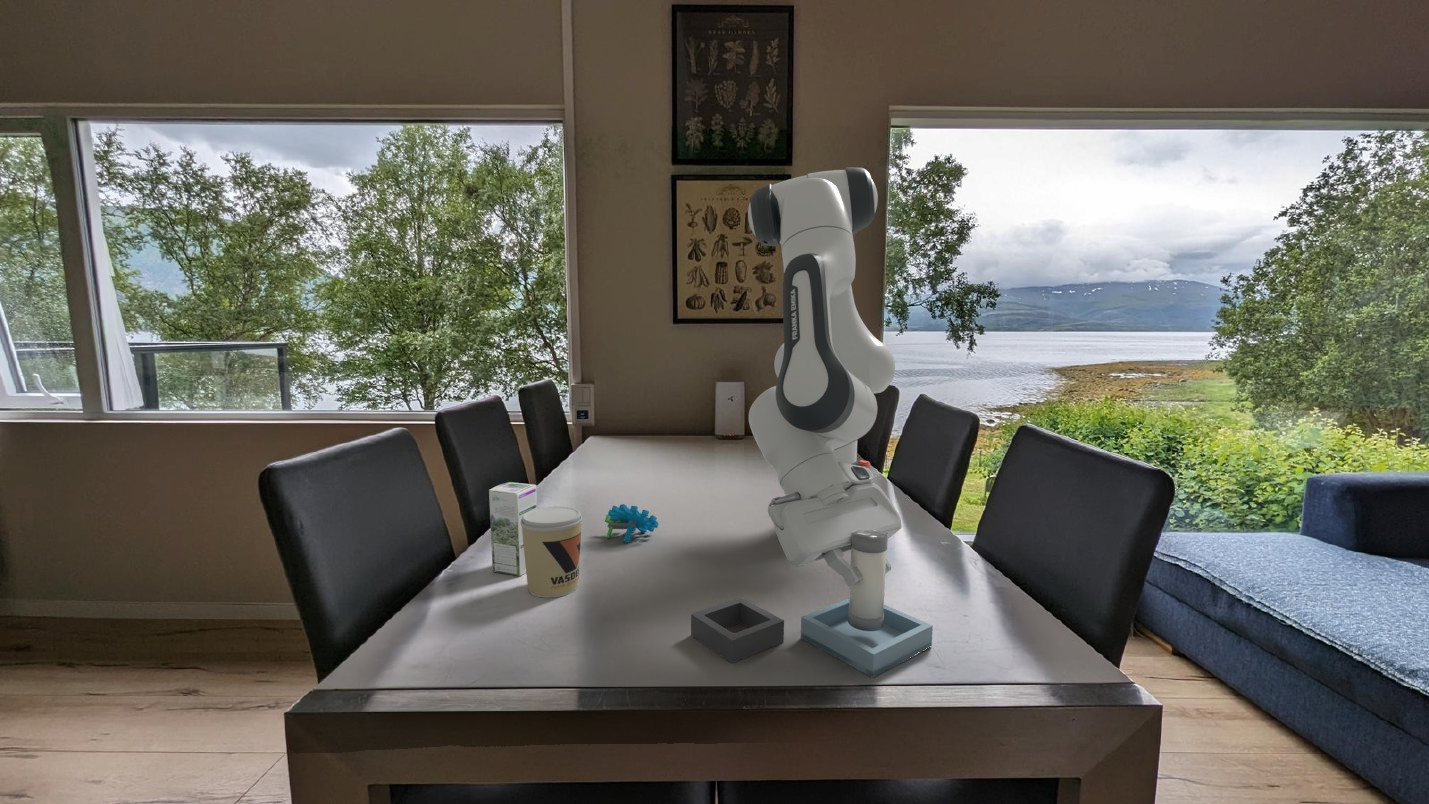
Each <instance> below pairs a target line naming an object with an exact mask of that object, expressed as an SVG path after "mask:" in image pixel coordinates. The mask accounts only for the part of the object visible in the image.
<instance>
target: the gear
mask: <svg viewBox="0 0 1429 804" xmlns="http://www.w3.org/2000/svg"><path fill="white" fill-rule="evenodd" d="M649 513H650V511H649V510H646V509H642V511H641V512H640V511H639V510H638V506H637V505H631V506H630V508H629V507H628V506H627V505H626V504H623V503H622V504H619V507H618V506H617V505H612V508H611V509H609V510H608V513H607V514H606V516H605V519H604V522H605V523H606V524H607V528H608V530H607V533H606V536H605V538H606V539H609V540H610V539H611V536H612V532H613V531H614V530H626V533H625V536H624V539H623V542H624V543H625V544H626V543H627V544H629V542H630V539H631V537H632V533H633V532H636V530H638V531H639V532H640V533H642V534H645V533H647V531H648V532H652V533H654V531H655V529H657V528H658V527H659V522H658V521H657V517H656V516H655V515H650V517H649Z"/></svg>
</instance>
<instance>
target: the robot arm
mask: <svg viewBox="0 0 1429 804" xmlns="http://www.w3.org/2000/svg"><path fill="white" fill-rule="evenodd" d="M878 197H879V194H878V190H877V187H876V184H875V182H874V181H873V179H872V176H871V174H870V172H869V171H868V170H867V169H865V168H863V167H852V166H851V167H845V169H834V170H824V171H817V172H811V173H807V175H801V176H798V177H797V176H796V177H794V178H789V179H786V180H783V181H780V182H777V183H773V184H771V183H767V184H765V185H762V186H760V187H758V188H756V189H755V190H754V192H753V193H752V195H751V196H750V197H749V199H750V200H749V205H748V209H747V220H748V224H749V228H750V230H751V231H752V233H753V235H754V236H755V238H756V240H757V241H758V242H759V243H761V244H762V245H763V246H769V247H779V246H781V247H780V248H781V255H782V265H783V266H782V267H783V279H782V310H783V311H782V316H783V318H782V319H783V320H782V321H783V343H782V344H781V345H780V346H779V348H778V349H777V352H776V354H775V357H774V361H773V362H774V372H775V375H776V377H777V380H776V385H774V386H772V387H771V386H770V387H769V388H768V389H766V390H764V391H763V392H761V393H760V394H759V395H758V396H757V397H756V398H755V400H754V401H753V402H752V404H751V406H750V408H749V411H748V423H749V427H750V430H751V434H752V435H753V438H754V441H755V442H756V444H757V446H758V448H759V450H760V452H761V454H762V456H763V458H764V459H765V461H766V463H767V464H768V465H769V466H771V468H772V469H773V470H774V472H775V474H776V477H777V481H778V484H779V486H780V488H781V490H782V491H783V493H784V496H776V497H773V498H772V499H771V500H770V502H769V503H768V507H767V513H768V516H769V517H770V519H771V521H772V523H773V526H774V530H775V534H776V535H777V538H778V541H779V543H780V547H781V548H782V551H783V553H784V556H785V557H786V559H787V560H788V562H790V564H792V565H794V566H795V567H801V566H804V565H808V564H810V563H814V562H817V561H820V560H823V559H824V561H825V562H826V564H827V566H828V567H829V568H831V570H833V571H835V572H836V573H837V574H838V575H840V576H842V578H843V581H844V582H845V584H846V585H847V586H848V587H850V586H853V585H856V584H858V583H859V582H861V581H862V580H863V576H862V574H861V573H860V571H859V569H858V568H857V567H854V568H853V567H852V566H851V563H849V562H847V560H846V559H844V558H843V557H844V556H845V554H844V553H846V552H849V551H851V533H852V532H853V531H855V530H859V529H870V530H877V531H880V532H883V533H885V534H887V536H888V539H889V538H891V537H893V536H894V535H895V534H896V533H898V531H900V530H901V529H902V524H903V523H902V519H901V517H900V514H899V513H898V511H897V509H896V508H895V506H894V505H893V503H892V501H891V500H890V498H889V496H888V495H887V494H886V493H885V491H884V490H883V489H882V488H881V487H880V486H879V485H878V484H876V483H874V482H873V481H874V480H875V476H874V474H873V472H872V471H871V463H870V461H869V460H864V459H863V460H862V459H860V460H859V461H858V460H857V458H858V457H857V454H858V440H860V439H861V438H863V437H864V436H866V435H867V434H868V433H870V431H871V430H872V429H873V427H874V426H875V424H876V421H877V418H878V414H879V413H878V412H879V405H878V400H877V397H876V395H875V394H880V393H882V392H884V391H885V390H886V389H887V388H888V387H889V385H891V382H892V381H893V378H894V375H895V373H896V361H895V357H894V356H893V353H892V351H891V349H890V348H889V347H888V346H887V345H886V344H885V343H883V342H882V341H880V340H879V339H877V338H876V336H874V334H872V332H871V331H870V330H869V329H868V327H867V325H866V324H865V322H863V321H864V320H863V319H862V318H861V316H860V314H859V312H858V309H857V306H856V303H855V298H854V293H853V287H852V284H853V281H854V279H855V276H856V265H857V263H856V262H857V261H856V260H857V259H856V257H857V256H856V247H855V241H854V236H855V235H857V233H858V232H859V231H862V230H863V229H865V228H867V227H868V226H869V225H871V223H872V221H873V220H874V219H875V215H876V211H877V208H878V203H879V202H878V199H879V198H878ZM891 570H892V566H891V564H890V562H889V561H888V559H887V558H886V568H885V575H886V574H887V573H889V572H890V571H891Z"/></svg>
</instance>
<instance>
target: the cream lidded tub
mask: <svg viewBox="0 0 1429 804" xmlns="http://www.w3.org/2000/svg"><path fill="white" fill-rule="evenodd" d="M582 522H583V516H582V514H581V511H580V510H578V509H577V508H573V507H570V506H545V507H540V508H539V507H537V509H534V510H531V511H528V512H526V513H525V514H524V515H523V517H522V519H521V526H522V534H523V545H524V555H525V565H526V573H525V574H526V583H527V588H528V589H527V590H528V593H530V595H532V596H533V597H537V598H543V599H546V598H547V599H550V598H560V597H565V596H567V595H569V594H571V593H574V592H575V591H576V590H577V589H578V587H579V582H580V581H579V577H580V561H581V541H582Z"/></svg>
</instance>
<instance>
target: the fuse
mask: <svg viewBox="0 0 1429 804" xmlns="http://www.w3.org/2000/svg"><path fill="white" fill-rule="evenodd" d="M888 539H889V538H888V536H887V534H885V533H883V532H880V531H877V530H870V529H859V530H855V531H853V532H852V533H851V550H850V565H851V566H852V567H853V568H854V567H857V568H858V569H859V571H860V573H861V574H862V576H863V580H862V581H861V582H859V583H858V584H856V585H853V586H849V608H848V623H849V625H850V626H852V627H854V628H856V629H858V630H862V631H877V630H880V629H882V628H883V626H884V605H885V587H886V586H885V584H886V574H885V568H886V559H887V550H888Z"/></svg>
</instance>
